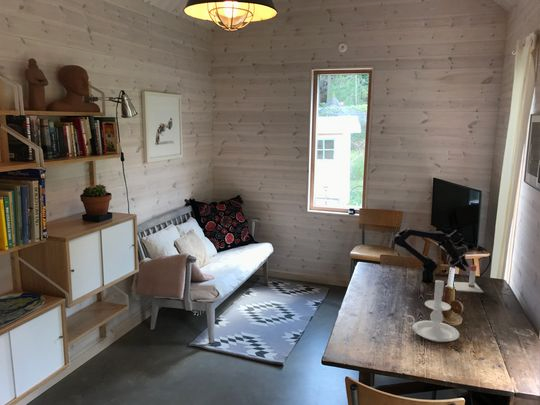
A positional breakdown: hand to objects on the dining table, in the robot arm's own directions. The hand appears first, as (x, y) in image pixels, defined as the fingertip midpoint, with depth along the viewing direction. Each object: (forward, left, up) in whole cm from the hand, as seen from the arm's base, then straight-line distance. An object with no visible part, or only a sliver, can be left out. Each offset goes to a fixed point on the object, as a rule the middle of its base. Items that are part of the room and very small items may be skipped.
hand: (467, 268), depth 266 cm
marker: (+3, -1, -10) cm, 11 cm away
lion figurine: (-9, +21, -11) cm, 26 cm away
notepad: (-1, -2, -11) cm, 11 cm away
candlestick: (-36, -70, -11) cm, 80 cm away
